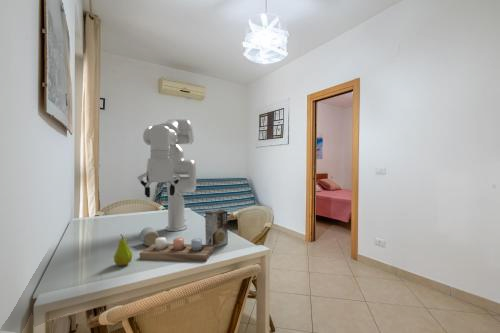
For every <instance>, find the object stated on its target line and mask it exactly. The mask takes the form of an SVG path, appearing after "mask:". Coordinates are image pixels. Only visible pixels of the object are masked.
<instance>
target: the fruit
mask: <svg viewBox="0 0 500 333" xmlns="http://www.w3.org/2000/svg"><path fill="white" fill-rule="evenodd" d="M120 236H121V238H120V240H119V242H118V246H117V250H116V251H115V253H114V256H113V262H114V263H115V264H116V265H117V266H120V267H121V266H122V267H123V266H127V265H128V264H130V263H131V261H132V259H133V251H131V249H130V247H129V245H128V243H127V241H126V239H125V238H124V236H123V235H122V233H121V234H120Z"/></svg>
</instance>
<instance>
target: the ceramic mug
mask: <svg viewBox="0 0 500 333" xmlns="http://www.w3.org/2000/svg"><path fill="white" fill-rule="evenodd" d="M160 237H161V236H159V234H158V232H157V231H156V230H155V229H154V228H153V227H148V226H147V227H145V228H143V229H141V231H140V233H139V241H141V242H142V243H143V245H145V246H147V247H150V246H151V245H153V244H154V243H155V239H156V238H160Z"/></svg>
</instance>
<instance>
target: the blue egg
mask: <svg viewBox="0 0 500 333" xmlns="http://www.w3.org/2000/svg"><path fill="white" fill-rule="evenodd" d="M190 244H191V250H192V251H200V250H202V245H203V238H201V237H197V238H196V237H195V238H193V239H191V240H190Z"/></svg>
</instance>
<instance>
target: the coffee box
mask: <svg viewBox="0 0 500 333" xmlns="http://www.w3.org/2000/svg"><path fill="white" fill-rule="evenodd" d="M204 213H205V216H204V218H205V223H204V224H205V231H204V232H205V245H214V249H215V248H218V247H222V246H225V245H227V244H228V243H229V239H228V238H229V235H228V233H229V232H228V223H229V222H228V210H224V209H213V210H209V211H205V212H204Z"/></svg>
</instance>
